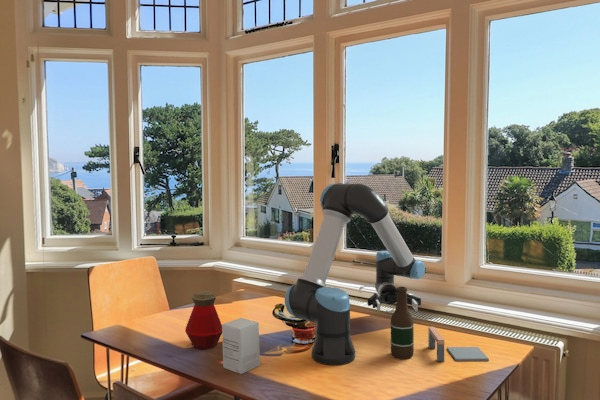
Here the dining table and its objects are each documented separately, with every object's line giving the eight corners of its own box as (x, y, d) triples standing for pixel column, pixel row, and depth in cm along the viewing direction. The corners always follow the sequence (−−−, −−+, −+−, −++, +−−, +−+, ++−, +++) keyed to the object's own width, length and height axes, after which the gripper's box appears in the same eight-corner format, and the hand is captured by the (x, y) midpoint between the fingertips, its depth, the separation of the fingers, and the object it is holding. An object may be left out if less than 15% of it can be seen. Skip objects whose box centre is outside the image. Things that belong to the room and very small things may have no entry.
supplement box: (242, 359, 170) (241, 317, 169) (260, 365, 165) (259, 321, 164) (222, 367, 163) (221, 323, 162) (241, 374, 158) (239, 328, 157)
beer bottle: (413, 360, 167) (413, 290, 165) (390, 358, 168) (390, 289, 167) (413, 352, 174) (413, 285, 173) (391, 350, 176) (390, 284, 175)
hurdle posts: (438, 361, 165) (438, 344, 165) (428, 346, 179) (428, 330, 179) (444, 361, 165) (444, 344, 165) (433, 346, 179) (433, 330, 179)
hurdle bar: (438, 344, 165) (438, 339, 165) (428, 330, 179) (428, 326, 179) (444, 344, 165) (444, 339, 165) (433, 330, 179) (433, 326, 179)
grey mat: (455, 361, 165) (455, 358, 165) (446, 349, 176) (446, 347, 176) (488, 360, 165) (488, 358, 165) (477, 349, 176) (477, 346, 176)
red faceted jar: (177, 344, 186) (176, 292, 185) (207, 335, 196) (206, 286, 194) (201, 355, 175) (199, 299, 174) (231, 345, 184) (230, 292, 183)
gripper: (419, 301, 201) (432, 317, 180) (358, 302, 201) (363, 318, 180) (419, 283, 200) (432, 297, 179) (358, 284, 201) (363, 297, 180)
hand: (397, 307), depth 180 cm, fingers open, 13 cm apart
